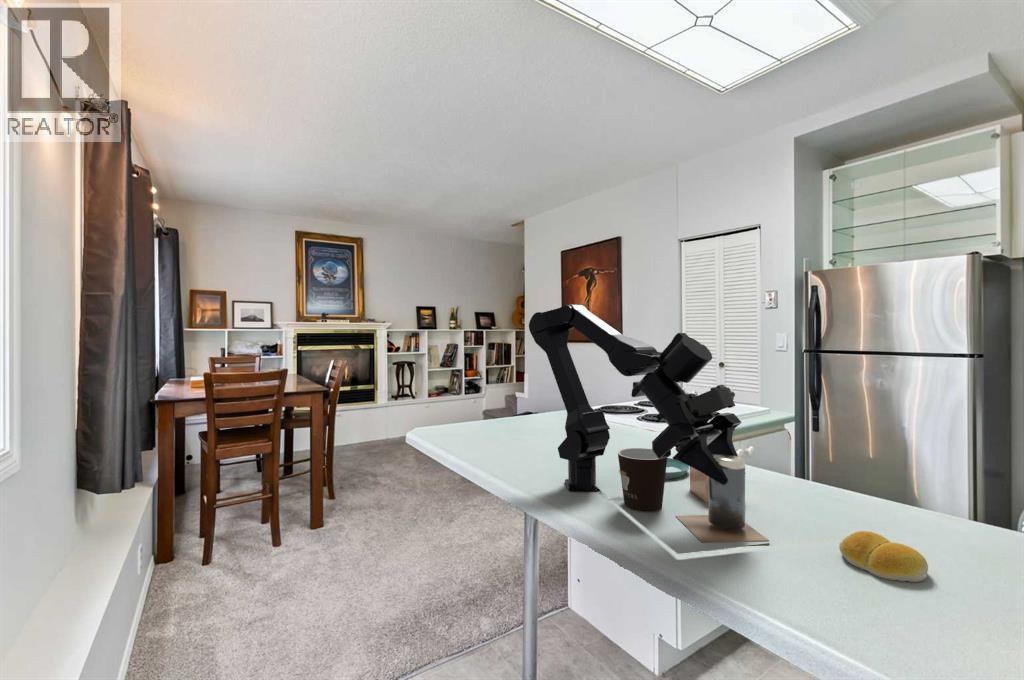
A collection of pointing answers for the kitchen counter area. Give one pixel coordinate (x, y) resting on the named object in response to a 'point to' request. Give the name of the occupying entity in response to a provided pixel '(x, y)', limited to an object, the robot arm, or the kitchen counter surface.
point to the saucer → (678, 465)
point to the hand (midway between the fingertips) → (734, 479)
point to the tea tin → (728, 494)
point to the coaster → (719, 531)
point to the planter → (699, 484)
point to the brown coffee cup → (642, 479)
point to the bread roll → (884, 557)
